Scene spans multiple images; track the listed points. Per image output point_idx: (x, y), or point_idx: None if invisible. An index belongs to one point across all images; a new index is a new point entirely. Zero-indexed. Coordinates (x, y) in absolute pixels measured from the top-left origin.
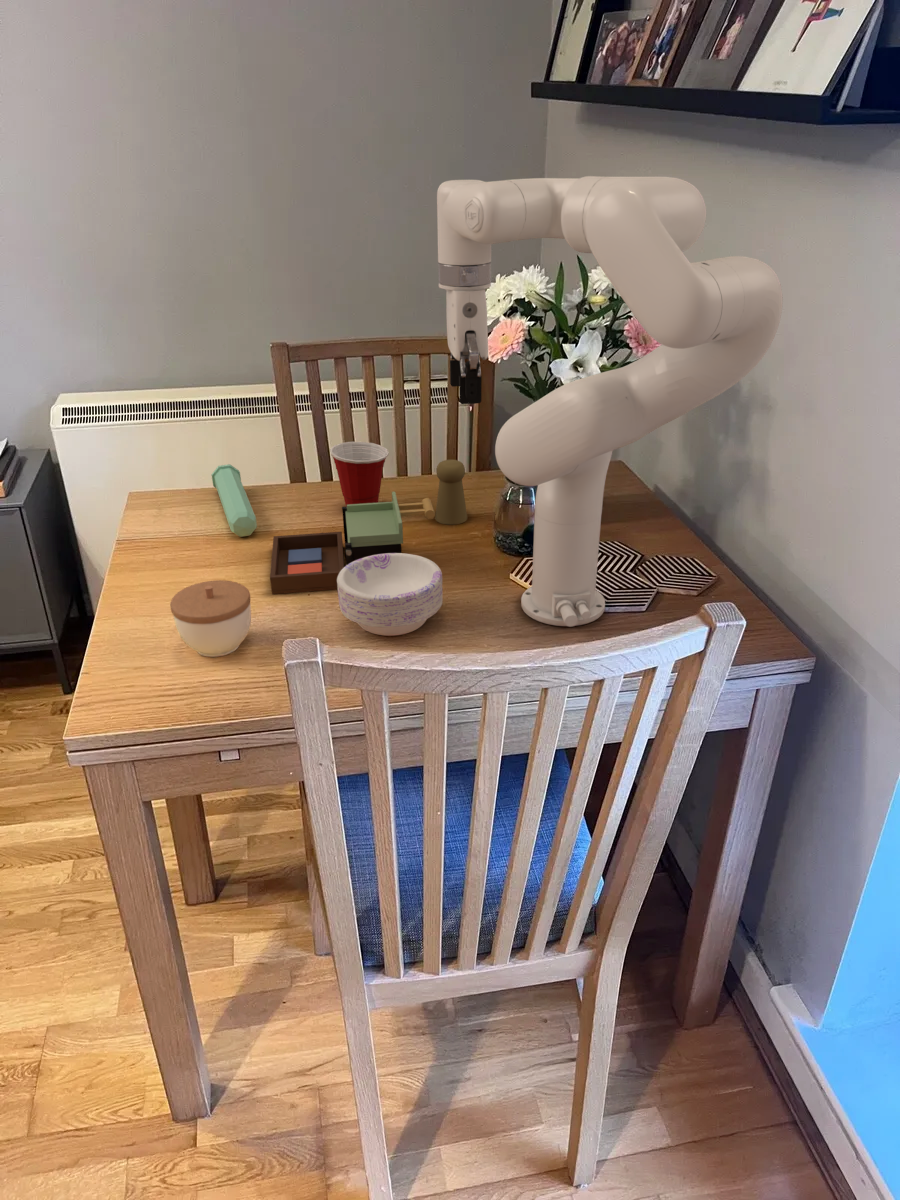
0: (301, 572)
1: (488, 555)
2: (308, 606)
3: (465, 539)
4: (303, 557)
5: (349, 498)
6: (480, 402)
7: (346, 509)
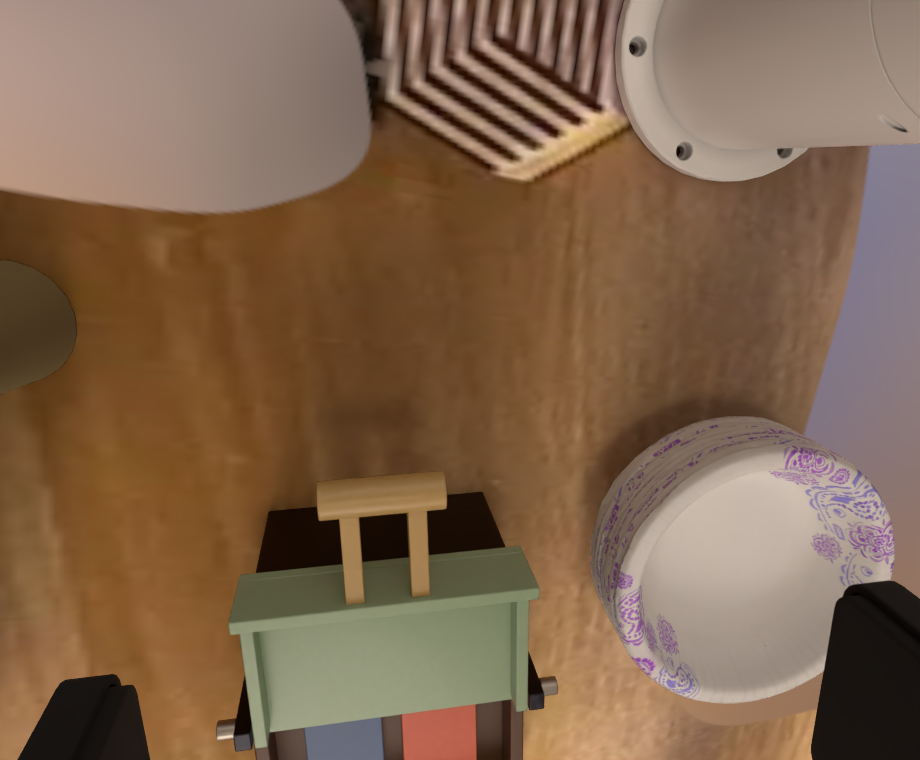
0: (452, 739)
1: (354, 225)
2: (582, 690)
3: (214, 289)
4: (363, 748)
5: None
6: (883, 582)
7: (251, 734)
